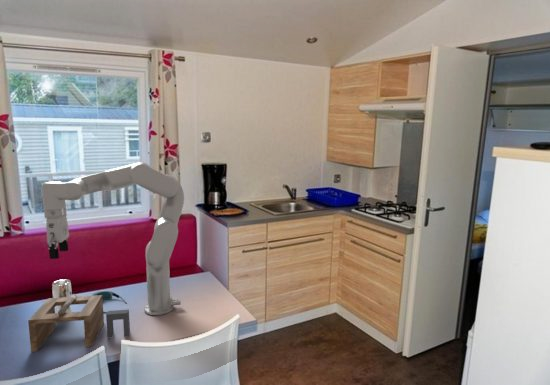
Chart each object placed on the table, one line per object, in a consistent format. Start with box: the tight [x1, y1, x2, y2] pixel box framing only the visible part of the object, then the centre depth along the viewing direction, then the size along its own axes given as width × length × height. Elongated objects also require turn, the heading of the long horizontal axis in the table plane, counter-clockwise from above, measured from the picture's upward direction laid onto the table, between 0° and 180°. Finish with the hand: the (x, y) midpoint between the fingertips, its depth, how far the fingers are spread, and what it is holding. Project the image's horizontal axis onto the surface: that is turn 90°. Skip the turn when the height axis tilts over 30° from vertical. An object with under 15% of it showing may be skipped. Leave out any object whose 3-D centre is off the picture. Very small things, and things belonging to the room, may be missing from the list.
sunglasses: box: [90, 290, 128, 314], centre depth 172 cm, size 14×15×5 cm
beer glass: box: [51, 279, 73, 313], centre depth 160 cm, size 7×7×15 cm
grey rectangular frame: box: [105, 309, 131, 339], centre depth 146 cm, size 8×3×9 cm, turn 101°
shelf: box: [27, 293, 105, 353], centre depth 144 cm, size 20×18×14 cm
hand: (59, 254), depth 153 cm, fingers open, 9 cm apart
